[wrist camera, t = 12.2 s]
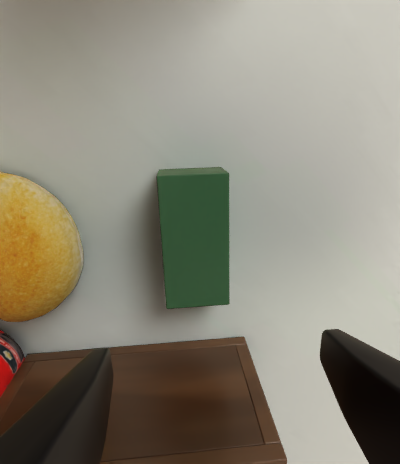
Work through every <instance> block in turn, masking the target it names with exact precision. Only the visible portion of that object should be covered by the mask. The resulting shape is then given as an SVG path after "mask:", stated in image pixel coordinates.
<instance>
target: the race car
mask: <svg viewBox="0 0 400 464" xmlns="http://www.w3.org/2000/svg"><path fill="white" fill-rule="evenodd" d="M24 360H25V358H24V355H23V352H22V350H21V348H20V347H19V346H18V344H17V343H16V342H15V341H14V340H13V339H12V338H11V337H10V336H9V335H7V334H6V333H4V332H3V331H1V330H0V397H1V396H2V394H3V392H4V391H5V389H6V388H7V386H8V385H9V383H10V382H11V380H12V378H13V377H14V375H15V374H16V372H17V371H18V369H19V368H20V366H21V364H22V363H23V361H24Z"/></svg>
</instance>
